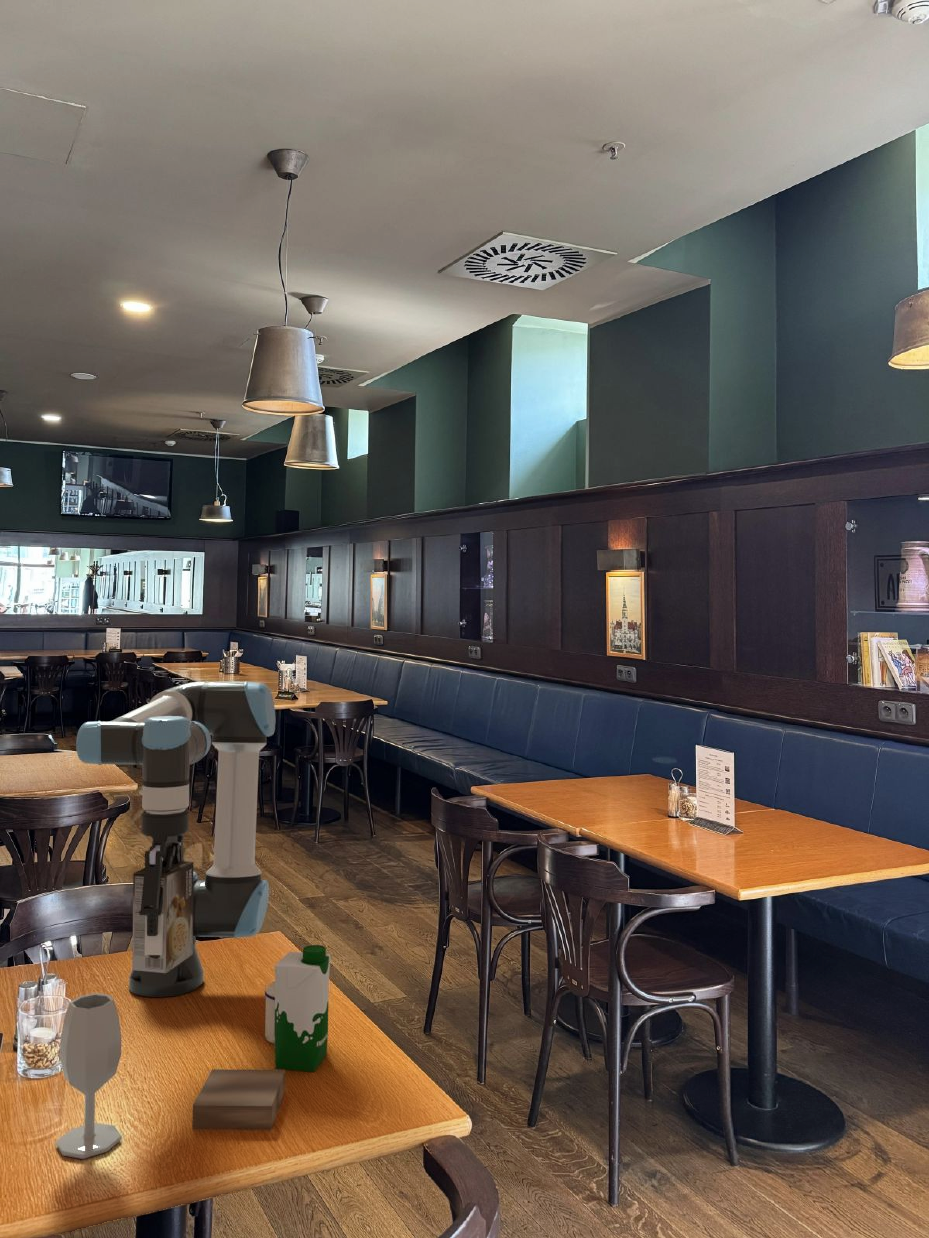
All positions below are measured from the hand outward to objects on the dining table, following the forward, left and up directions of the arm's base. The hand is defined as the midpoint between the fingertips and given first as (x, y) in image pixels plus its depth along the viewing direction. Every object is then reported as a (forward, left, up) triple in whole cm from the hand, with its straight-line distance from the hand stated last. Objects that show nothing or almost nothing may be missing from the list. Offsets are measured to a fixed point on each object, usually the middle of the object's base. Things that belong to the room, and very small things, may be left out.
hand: (163, 943), depth 160 cm
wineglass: (+19, -5, -24) cm, 30 cm away
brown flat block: (+8, +15, -24) cm, 29 cm away
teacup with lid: (-21, +18, -24) cm, 36 cm away
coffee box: (0, 0, -3) cm, 3 cm away
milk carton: (-9, +22, -24) cm, 33 cm away
